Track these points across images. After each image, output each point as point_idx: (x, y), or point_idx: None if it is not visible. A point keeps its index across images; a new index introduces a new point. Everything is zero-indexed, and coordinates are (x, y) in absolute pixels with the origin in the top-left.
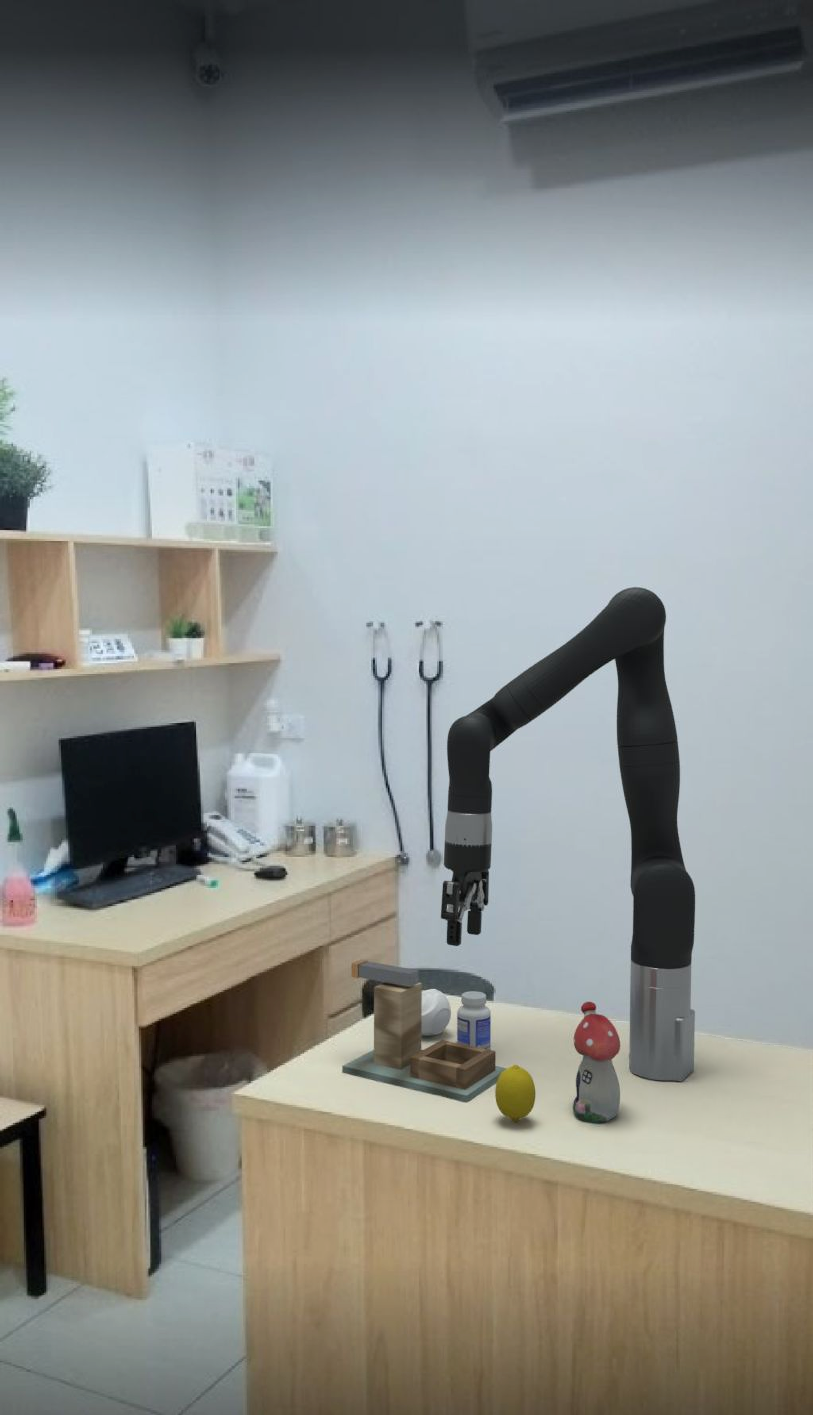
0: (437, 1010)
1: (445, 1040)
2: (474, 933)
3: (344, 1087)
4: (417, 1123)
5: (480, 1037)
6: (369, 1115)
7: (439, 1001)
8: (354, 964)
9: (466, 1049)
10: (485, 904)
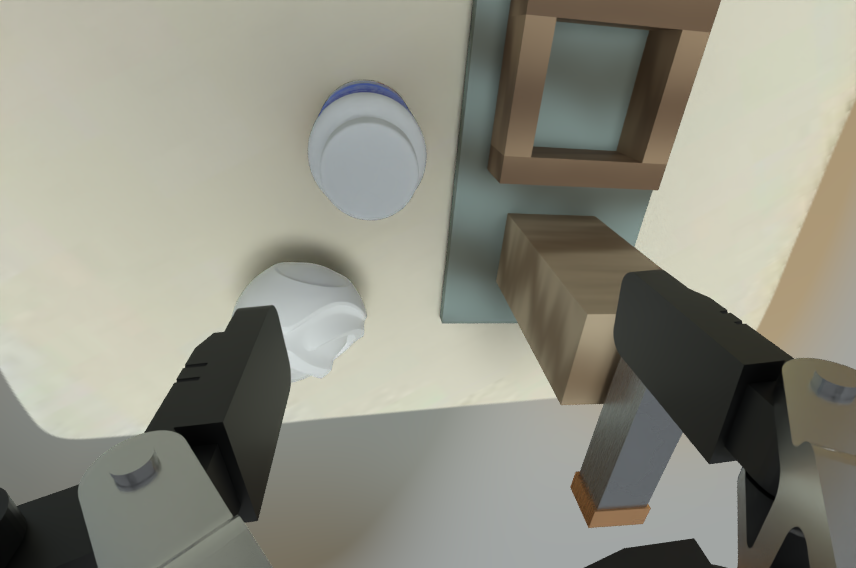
0: (332, 291)
1: (501, 172)
2: (280, 335)
3: (677, 272)
4: (849, 37)
5: (401, 100)
6: (811, 157)
7: (310, 306)
8: (645, 514)
9: (543, 81)
10: (13, 502)
